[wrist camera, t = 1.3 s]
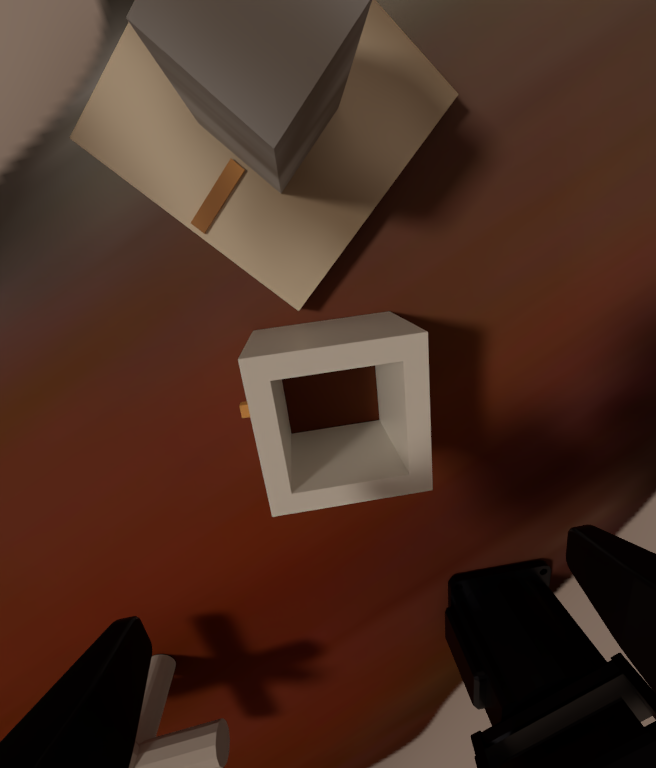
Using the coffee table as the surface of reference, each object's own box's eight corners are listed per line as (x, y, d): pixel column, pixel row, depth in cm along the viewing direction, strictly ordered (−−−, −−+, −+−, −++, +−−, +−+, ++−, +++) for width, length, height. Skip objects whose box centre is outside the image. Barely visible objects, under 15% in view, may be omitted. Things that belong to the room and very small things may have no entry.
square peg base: (231, -134, 12) (152, -655, 5) (447, 105, 14) (581, -27, 8) (84, 146, 14) (-110, 40, 7) (298, 308, 16) (302, 341, 10)
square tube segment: (389, 311, 17) (428, 331, 12) (397, 432, 19) (432, 490, 14) (231, 333, 16) (207, 363, 12) (257, 454, 19) (246, 521, 14)
